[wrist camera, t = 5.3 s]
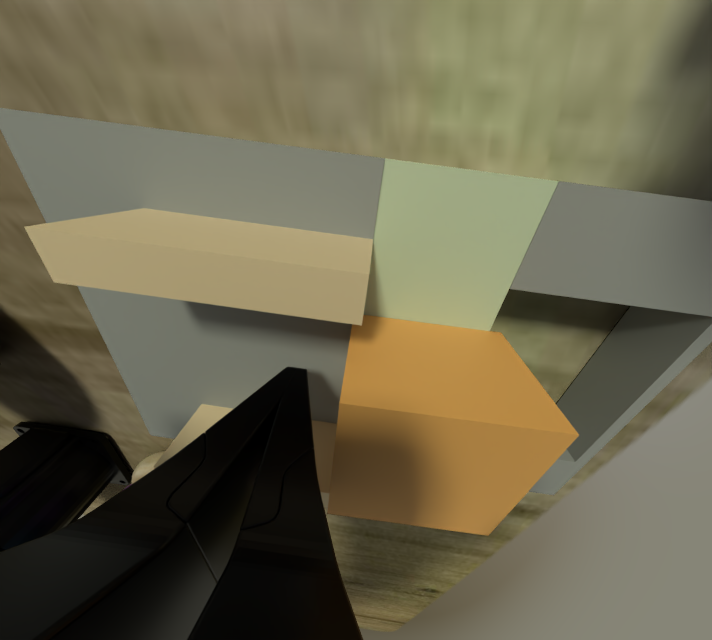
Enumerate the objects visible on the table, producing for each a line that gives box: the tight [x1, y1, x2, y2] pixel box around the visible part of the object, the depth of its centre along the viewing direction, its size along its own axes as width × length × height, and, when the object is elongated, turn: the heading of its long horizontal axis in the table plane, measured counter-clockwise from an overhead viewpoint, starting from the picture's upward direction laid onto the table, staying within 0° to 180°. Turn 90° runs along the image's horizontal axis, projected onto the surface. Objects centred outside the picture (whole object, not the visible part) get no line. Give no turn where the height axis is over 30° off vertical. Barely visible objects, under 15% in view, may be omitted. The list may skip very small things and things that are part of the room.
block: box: [327, 315, 579, 536], centre depth 8 cm, size 5×5×4 cm
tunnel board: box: [0, 108, 712, 508], centre depth 10 cm, size 14×22×6 cm, turn 84°
